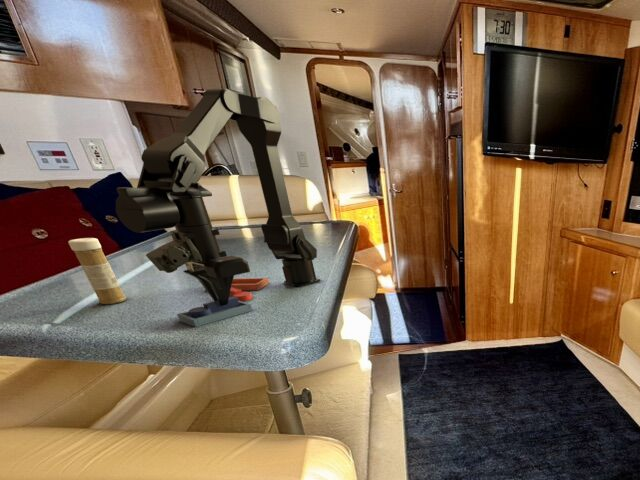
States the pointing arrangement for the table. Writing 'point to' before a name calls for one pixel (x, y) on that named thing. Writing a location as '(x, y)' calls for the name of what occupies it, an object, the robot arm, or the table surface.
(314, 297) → the table surface
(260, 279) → the terracotta tray
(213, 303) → the navy spoon
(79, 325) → the table surface
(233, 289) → the brick-red spoon
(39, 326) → the table surface
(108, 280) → the sprinkles bottle
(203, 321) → the grey tray
